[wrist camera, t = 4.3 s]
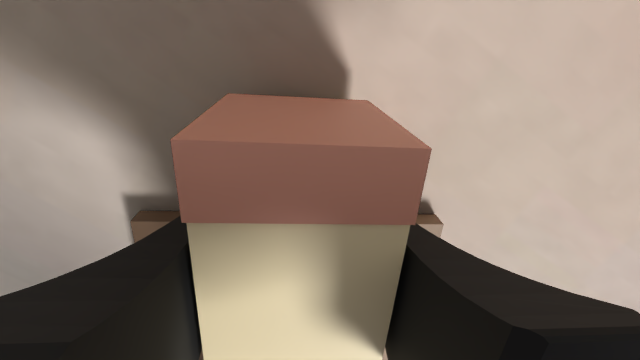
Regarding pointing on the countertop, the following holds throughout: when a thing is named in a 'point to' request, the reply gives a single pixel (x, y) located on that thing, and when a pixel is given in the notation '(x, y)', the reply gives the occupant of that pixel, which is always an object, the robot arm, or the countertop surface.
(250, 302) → the stub
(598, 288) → the countertop surface
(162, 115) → the countertop surface
